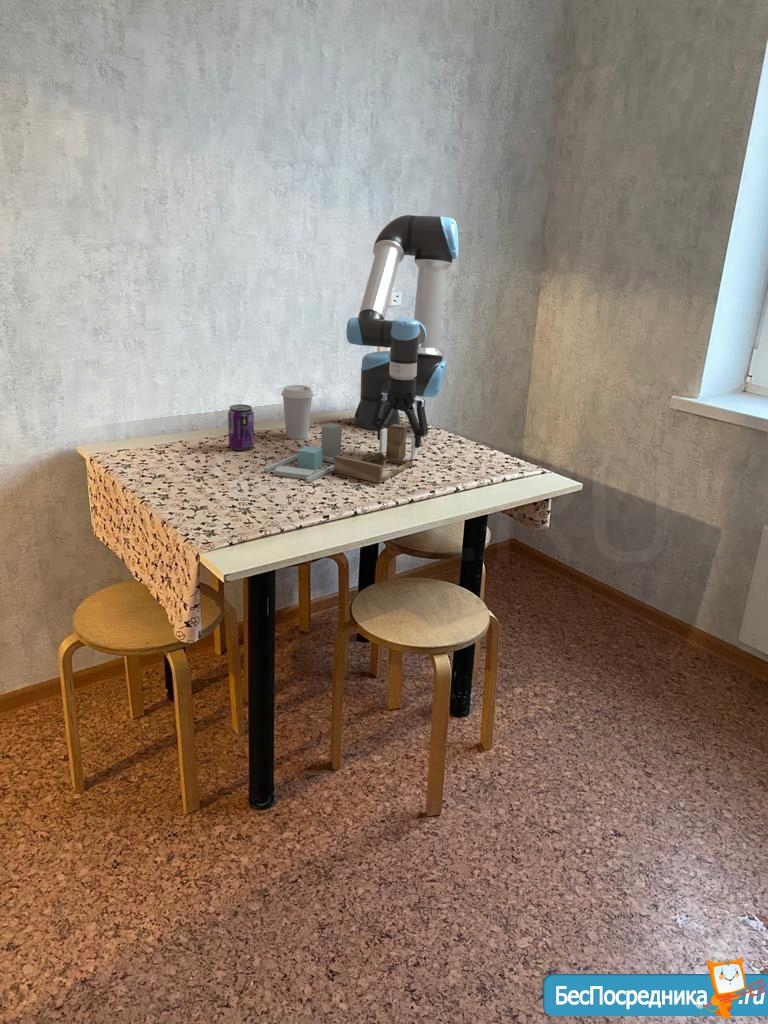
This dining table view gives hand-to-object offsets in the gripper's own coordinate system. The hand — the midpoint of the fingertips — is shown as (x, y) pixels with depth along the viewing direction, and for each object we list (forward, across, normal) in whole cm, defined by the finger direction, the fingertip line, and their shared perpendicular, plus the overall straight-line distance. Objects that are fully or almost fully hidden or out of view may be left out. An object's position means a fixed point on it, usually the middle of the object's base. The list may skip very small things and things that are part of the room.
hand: (398, 454), depth 220 cm
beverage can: (+1, -40, -20) cm, 45 cm away
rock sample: (+1, -2, -17) cm, 17 cm away
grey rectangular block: (+1, -14, -30) cm, 34 cm away
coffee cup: (+1, -34, -2) cm, 34 cm away
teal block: (+1, -15, -22) cm, 27 cm away
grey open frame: (0, -15, -22) cm, 26 cm away
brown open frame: (0, 0, -11) cm, 11 cm away
